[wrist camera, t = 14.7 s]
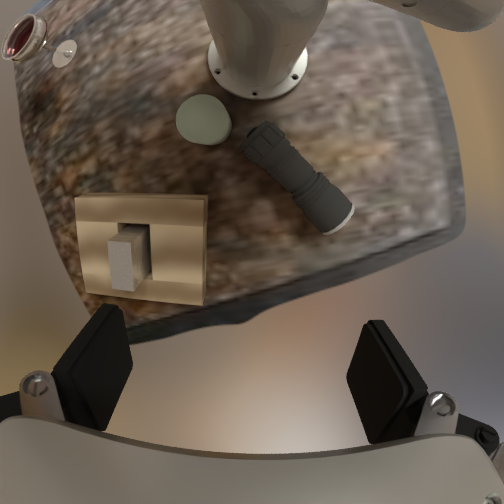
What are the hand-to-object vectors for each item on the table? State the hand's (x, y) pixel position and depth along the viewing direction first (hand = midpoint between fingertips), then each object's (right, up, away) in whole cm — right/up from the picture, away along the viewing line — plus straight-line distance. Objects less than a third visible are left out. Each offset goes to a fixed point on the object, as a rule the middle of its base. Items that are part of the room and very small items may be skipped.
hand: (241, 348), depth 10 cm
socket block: (-15, +5, +28) cm, 32 cm away
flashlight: (+6, +14, +26) cm, 30 cm away
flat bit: (-15, +5, +28) cm, 32 cm away
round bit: (-5, +19, +23) cm, 30 cm away
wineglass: (-28, +34, +18) cm, 48 cm away
